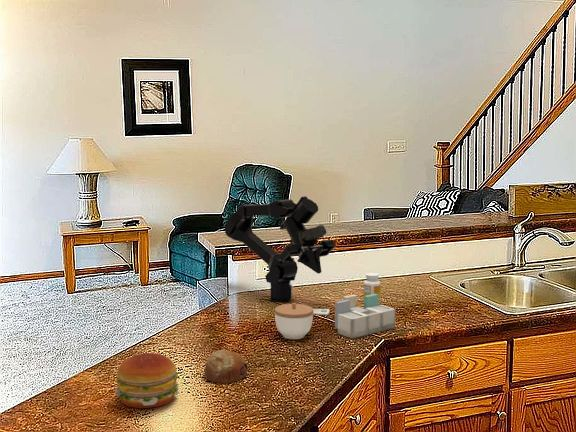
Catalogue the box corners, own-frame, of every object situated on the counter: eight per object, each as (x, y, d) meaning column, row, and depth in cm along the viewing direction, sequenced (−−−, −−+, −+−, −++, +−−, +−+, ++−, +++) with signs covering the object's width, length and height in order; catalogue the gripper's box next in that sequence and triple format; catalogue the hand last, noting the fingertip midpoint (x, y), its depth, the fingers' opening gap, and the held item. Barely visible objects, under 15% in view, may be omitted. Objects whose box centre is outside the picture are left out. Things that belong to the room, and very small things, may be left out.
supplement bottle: (379, 301, 233) (380, 272, 231) (380, 305, 228) (381, 276, 226) (363, 300, 233) (363, 272, 232) (363, 305, 228) (364, 275, 227)
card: (302, 313, 218) (302, 312, 218) (304, 309, 223) (304, 307, 223) (328, 315, 217) (328, 313, 217) (329, 310, 222) (329, 308, 222)
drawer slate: (334, 327, 201) (335, 302, 200) (346, 324, 204) (346, 299, 203) (350, 333, 196) (351, 307, 195) (362, 330, 199) (363, 304, 197)
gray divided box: (337, 333, 199) (338, 314, 199) (380, 322, 210) (380, 304, 209) (352, 338, 195) (352, 319, 194) (395, 327, 205) (395, 309, 204)
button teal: (363, 320, 208) (364, 295, 207) (374, 318, 211) (374, 293, 210) (379, 326, 203) (380, 300, 202) (390, 323, 205) (391, 298, 204)
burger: (111, 414, 146) (110, 368, 144) (119, 388, 159) (117, 346, 158) (178, 411, 147) (177, 365, 146) (179, 386, 161) (178, 344, 159)
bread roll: (212, 382, 173) (198, 354, 171) (250, 364, 173) (236, 336, 171) (212, 398, 163) (196, 369, 161) (252, 379, 163) (237, 349, 162)
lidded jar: (317, 332, 200) (318, 300, 199) (306, 343, 190) (306, 310, 189) (282, 328, 204) (282, 296, 202) (268, 339, 194) (269, 306, 192)
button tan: (342, 321, 207) (342, 296, 206) (353, 319, 210) (353, 294, 209) (358, 327, 202) (358, 301, 201) (369, 324, 204) (370, 299, 203)
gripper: (285, 219, 214) (308, 261, 207) (332, 214, 225) (355, 254, 218) (270, 241, 221) (291, 282, 214) (316, 235, 233) (337, 274, 226)
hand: (319, 272), depth 218 cm, fingers closed
